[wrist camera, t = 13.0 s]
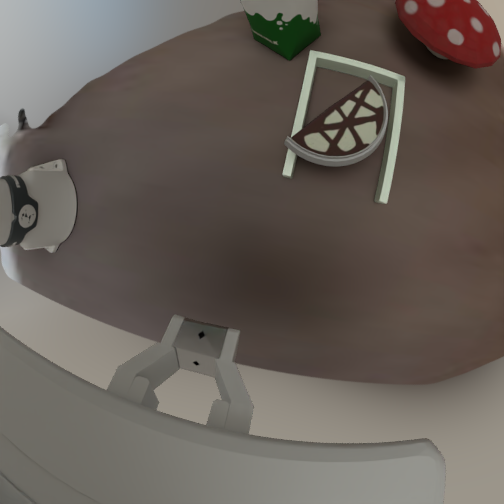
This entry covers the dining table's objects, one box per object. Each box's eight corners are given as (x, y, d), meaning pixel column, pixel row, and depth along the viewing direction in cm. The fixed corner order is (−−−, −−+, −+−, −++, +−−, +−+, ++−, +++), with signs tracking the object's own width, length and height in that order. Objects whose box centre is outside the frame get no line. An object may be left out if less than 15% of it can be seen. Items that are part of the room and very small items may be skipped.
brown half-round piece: (320, 194, 33) (325, 190, 24) (289, 157, 33) (282, 139, 24) (388, 139, 30) (415, 118, 20) (358, 104, 30) (373, 72, 20)
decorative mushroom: (453, 110, 27) (508, 75, 12) (366, 44, 28) (386, -20, 13) (478, 57, 23) (519, 21, 8) (403, 1, 24) (424, -51, 9)
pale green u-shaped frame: (284, 176, 34) (282, 174, 31) (310, 59, 30) (310, 50, 27) (380, 203, 32) (386, 203, 29) (399, 84, 28) (405, 76, 25)
